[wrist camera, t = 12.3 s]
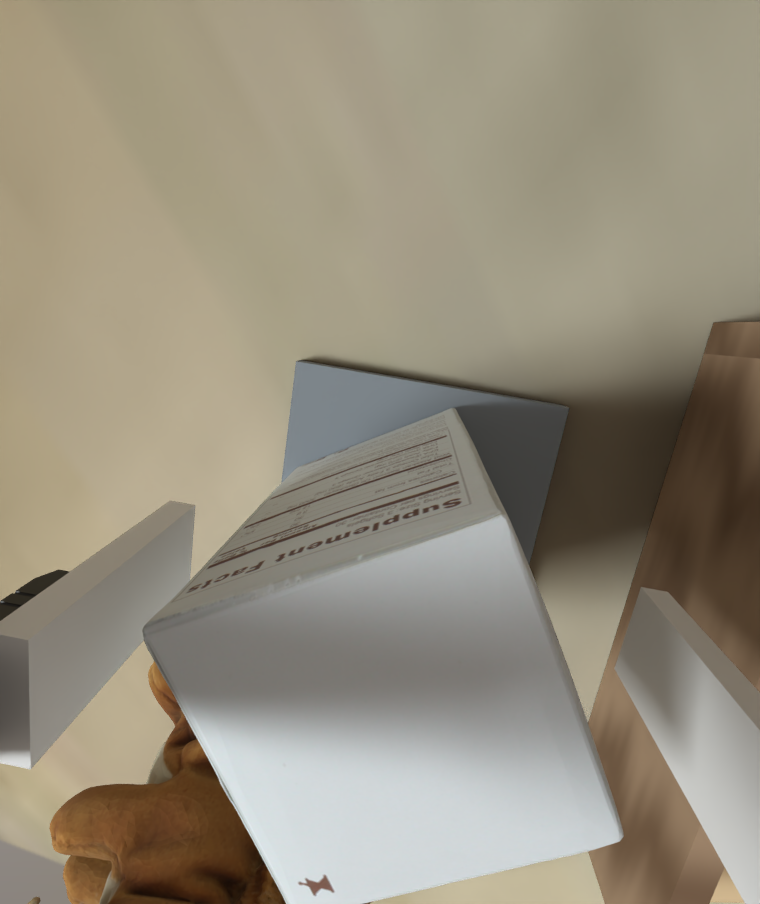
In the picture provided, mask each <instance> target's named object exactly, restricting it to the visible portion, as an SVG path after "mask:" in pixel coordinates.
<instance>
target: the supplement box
mask: <svg viewBox="0 0 760 904" xmlns="http://www.w3.org/2000/svg"><path fill="white" fill-rule="evenodd" d="M142 632H143V637H144V641H145V644H146V646H147V649H148V651H149V652H150V654H151V655H152V657H153V659H154V661H155V663H156V665H157V667H158V669H159V670H160V672H161V674H162V676H163V678H164V679H165V681H166V683H167V684H168V686H169V688H170V689H171V691H172V693H173V694H174V696H175V698H176V700H177V702H178V704H179V706H180V708H181V710H182V712H183V714H184V715H185V717H186V719H187V721H188V723H189V725H190V727H191V728H192V730H193V732H194V734H195V736H196V737H197V739H198V741H199V743H200V745H201V747H202V748H203V750H204V752H205V754H206V756H207V757H208V759H209V761H210V763H211V765H212V767H213V769H214V771H215V772H216V774H217V776H218V778H219V781H220V784H221V786H222V787H223V789H224V791H225V793H226V794H227V796H228V798H229V800H230V801H231V803H232V804H233V806H234V807H235V809H236V811H237V813H238V814H239V816H240V818H241V820H242V822H243V824H244V826H245V828H246V829H247V831H248V833H249V835H250V836H251V838H252V840H253V842H254V844H255V846H256V847H257V849H258V851H259V853H260V855H261V857H262V859H263V860H264V862H265V864H266V866H267V868H268V870H269V872H270V874H271V876H272V877H273V879H274V881H275V883H276V885H277V886H278V888H279V890H280V892H281V894H282V896H283V898H284V900H285V902H286V904H364V903H369V902H373V901H377V900H381V899H385V898H390V897H394V896H398V895H402V894H407V893H411V892H415V891H420V890H424V889H429V888H433V887H437V886H441V885H445V884H448V883H452V882H457V881H461V880H466V879H470V878H475V877H480V876H484V875H488V874H493V873H497V872H501V871H505V870H510V869H514V868H518V867H522V866H527V865H531V864H535V863H539V862H542V861H549V860H553V859H557V858H560V857H567V856H572V855H575V854H579V853H583V852H587V851H591V850H595V849H598V848H601V847H604V846H607V845H611V844H614V843H617V842H620V841H621V839H622V838H623V837H624V834H623V829H622V825H621V822H620V818H619V815H618V812H617V809H616V805H615V802H614V799H613V796H612V793H611V790H610V787H609V784H608V781H607V778H606V775H605V772H604V769H603V766H602V763H601V761H600V758H599V755H598V752H597V749H596V746H595V743H594V740H593V737H592V734H591V731H590V728H589V725H588V722H587V719H586V716H585V714H584V711H583V708H582V705H581V702H580V699H579V696H578V693H577V691H576V688H575V685H574V682H573V679H572V676H571V674H570V671H569V668H568V666H567V663H566V660H565V658H564V655H563V652H562V649H561V647H560V644H559V641H558V639H557V636H556V633H555V631H554V628H553V625H552V623H551V620H550V617H549V615H548V612H547V609H546V607H545V604H544V602H543V599H542V597H541V594H540V591H539V589H538V586H537V584H536V582H535V579H534V577H533V574H532V572H531V569H530V567H529V564H528V562H527V560H526V557H525V555H524V552H523V550H522V547H521V545H520V543H519V540H518V538H517V535H516V533H515V531H514V528H513V526H512V524H511V521H510V519H509V517H508V515H507V513H506V511H505V509H504V507H503V505H502V503H501V501H500V499H499V497H498V495H497V493H496V491H495V489H494V487H493V484H492V482H491V480H490V478H489V476H488V474H487V472H486V470H485V468H484V465H483V463H482V461H481V459H480V457H479V454H478V452H477V450H476V448H475V446H474V443H473V441H472V439H471V438H470V436H469V434H468V432H467V430H466V428H465V426H464V424H463V422H462V420H461V418H460V416H459V415H458V413H457V410H456V409H455V408H450V409H448V410H445V411H443V412H441V413H438V414H435V415H433V416H430V417H428V418H425V419H422V420H420V421H417V422H415V423H412V424H409V425H407V426H404V427H402V428H399V429H396V430H394V431H391V432H388V433H386V434H383V435H381V436H378V437H375V438H373V439H370V440H367V441H365V442H362V443H359V444H357V445H354V446H352V447H349V448H346V449H344V450H341V451H338V452H336V453H333V454H330V455H328V456H325V457H323V458H320V459H317V460H315V461H312V462H310V463H307V464H304V465H302V466H299V467H297V468H296V469H295V470H294V471H293V472H292V473H291V474H290V475H289V476H288V477H287V478H286V479H285V480H284V481H283V482H282V483H281V484H280V485H279V486H278V487H277V488H276V489H275V490H274V491H273V492H272V493H271V494H270V495H269V497H268V498H267V499H266V500H265V501H264V502H263V503H262V504H261V505H260V506H259V507H258V508H257V510H256V511H255V512H254V513H253V514H252V515H251V516H250V517H249V518H248V519H247V520H246V521H245V522H244V523H243V524H242V526H241V527H240V528H239V529H238V530H237V531H236V532H235V533H234V534H233V535H232V536H231V537H230V538H229V540H228V541H227V542H226V543H225V544H224V545H223V546H222V547H221V548H220V549H219V550H218V551H217V552H216V554H215V555H214V556H213V557H212V558H211V559H210V560H209V561H208V562H207V563H206V564H205V566H204V567H203V568H202V569H201V570H200V571H199V572H198V573H197V574H196V575H195V576H194V577H193V578H192V579H191V580H190V581H189V582H188V583H187V584H186V585H185V586H184V588H183V589H182V590H181V591H180V592H179V593H178V594H177V595H176V596H175V597H174V598H173V599H172V600H171V601H170V602H169V603H167V604H166V605H165V606H164V607H163V608H162V609H161V610H160V611H159V612H158V613H157V614H155V615H154V616H153V617H152V618H151V619H150V620H149V621H148V622H147V623H146V624H145V625H144V627H143V630H142Z"/></svg>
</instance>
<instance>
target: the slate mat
mask: <svg viewBox="0 0 760 904" xmlns="http://www.w3.org/2000/svg"><path fill="white" fill-rule="evenodd" d="M450 408H455V409H456V410H457V413H458V415H459V416H460V418H461V420H462V422H463V424H464V426H465V428H466V430H467V432H468V434H469V436H470V438H471V439H472V441H473V443H474V446H475V448H476V450H477V452H478V454H479V457H480V459H481V461H482V463H483V465H484V468H485V470H486V472H487V474H488V476H489V478H490V480H491V482H492V484H493V487H494V489H495V491H496V493H497V495H498V497H499V499H500V501H501V503H502V505H503V507H504V509H505V511H506V513H507V515H508V517H509V519H510V521H511V524H512V526H513V528H514V531H515V533H516V535H517V538H518V540H519V543H520V545H521V547H522V550H523V552H524V555H525V557H526V560H527V562H528V564H530V560H531V556H532V552H533V548H534V544H535V540H536V536H537V532H538V528H539V525H540V521H541V517H542V513H543V509H544V505H545V501H546V497H547V493H548V489H549V486H550V482H551V478H552V474H553V470H554V466H555V462H556V458H557V454H558V450H559V447H560V443H561V439H562V435H563V431H564V427H565V423H566V419H567V415H568V411H569V408H568V407H566V406H564V405H560V404H554V403H548V402H542V401H537V400H531V399H525V398H519V397H513V396H507V395H502V394H496V393H490V392H484V391H478V390H472V389H467V388H461V387H455V386H449V385H443V384H437V383H432V382H426V381H420V380H414V379H408V378H402V377H396V376H391V375H385V374H379V373H373V372H367V371H361V370H356V369H350V368H344V367H338V366H332V365H326V364H321V363H315V362H309V361H303V360H299V361H296V367H295V376H294V384H293V392H292V400H291V409H290V417H289V425H288V433H287V442H286V450H285V458H284V467H283V475H282V482H283V481H284V480H285V479H286V478H287V477H288V476H289V475H290V474H291V473H292V472H293V471H294V470H295V469H296V468H297V467H299V466H302V465H304V464H307V463H310V462H312V461H315V460H317V459H320V458H323V457H325V456H328V455H330V454H333V453H336V452H338V451H341V450H344V449H346V448H349V447H352V446H354V445H357V444H359V443H362V442H365V441H367V440H370V439H373V438H375V437H378V436H381V435H383V434H386V433H388V432H391V431H394V430H396V429H399V428H402V427H404V426H407V425H409V424H412V423H415V422H417V421H420V420H422V419H425V418H428V417H430V416H433V415H435V414H438V413H441V412H443V411H445V410H448V409H450Z"/></svg>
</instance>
